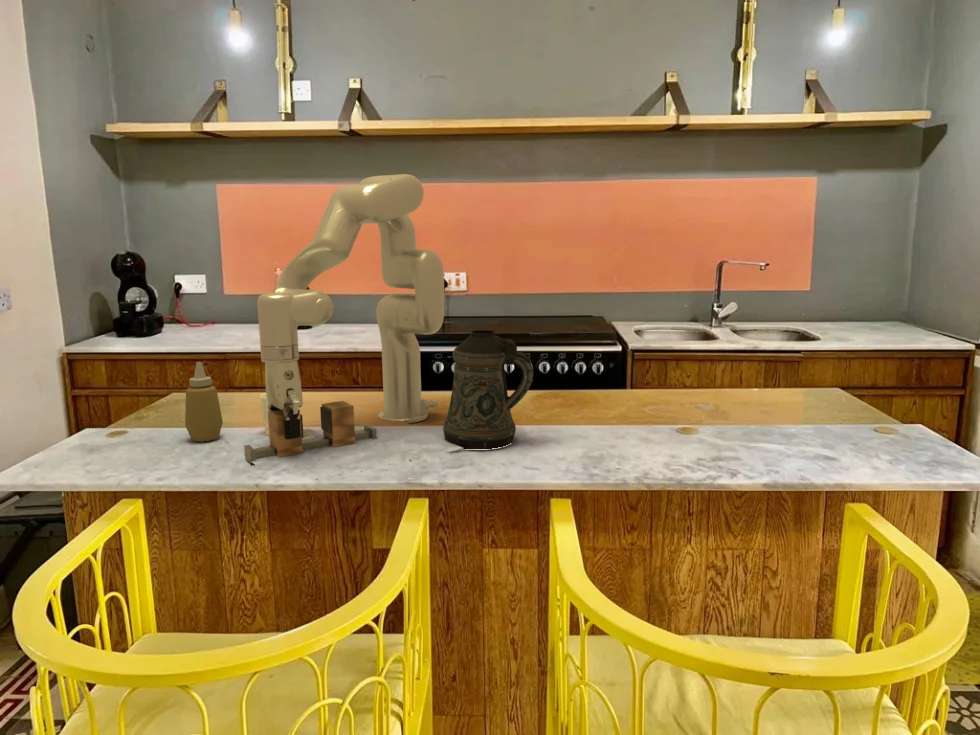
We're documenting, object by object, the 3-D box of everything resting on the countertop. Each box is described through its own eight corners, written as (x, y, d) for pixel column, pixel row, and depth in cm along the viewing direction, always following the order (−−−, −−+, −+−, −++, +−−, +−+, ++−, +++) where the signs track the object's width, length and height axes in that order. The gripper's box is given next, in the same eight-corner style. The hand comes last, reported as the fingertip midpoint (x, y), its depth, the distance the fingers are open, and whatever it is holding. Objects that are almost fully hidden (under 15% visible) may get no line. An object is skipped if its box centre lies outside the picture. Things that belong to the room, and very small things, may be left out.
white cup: (288, 441, 162) (285, 399, 160) (256, 440, 164) (253, 397, 162) (303, 432, 170) (301, 391, 168) (273, 431, 171) (270, 390, 170)
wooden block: (344, 437, 162) (343, 400, 160) (355, 443, 157) (353, 405, 156) (321, 441, 159) (319, 404, 157) (331, 447, 154) (329, 409, 152)
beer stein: (437, 434, 168) (434, 328, 163) (516, 427, 172) (516, 324, 168) (451, 454, 152) (448, 338, 147) (537, 447, 157) (538, 334, 152)
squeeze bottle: (231, 436, 167) (225, 360, 164) (204, 445, 160) (198, 366, 157) (206, 432, 170) (199, 358, 167) (178, 441, 163) (171, 364, 160)
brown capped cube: (296, 445, 156) (293, 407, 154) (305, 452, 151) (302, 413, 149) (270, 450, 152) (267, 411, 151) (278, 457, 148) (276, 417, 146)
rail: (368, 438, 164) (368, 424, 164) (376, 442, 161) (376, 429, 160) (245, 460, 149) (244, 445, 148) (251, 465, 145) (250, 450, 145)
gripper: (312, 356, 143) (316, 439, 146) (284, 346, 157) (288, 421, 160) (275, 360, 138) (280, 445, 142) (249, 349, 153) (254, 427, 156)
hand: (284, 432), depth 151 cm, fingers open, 9 cm apart
